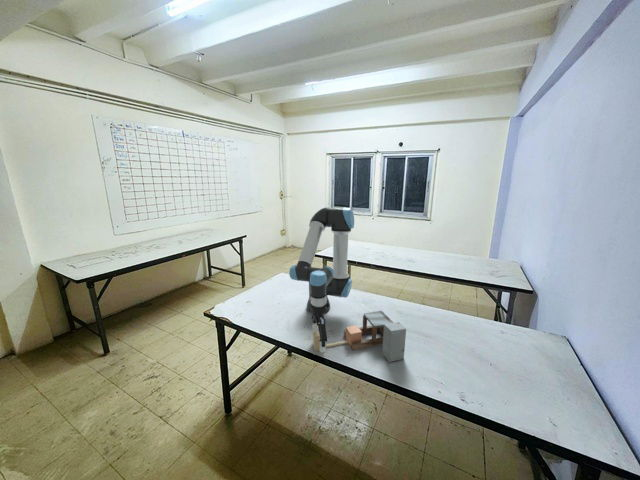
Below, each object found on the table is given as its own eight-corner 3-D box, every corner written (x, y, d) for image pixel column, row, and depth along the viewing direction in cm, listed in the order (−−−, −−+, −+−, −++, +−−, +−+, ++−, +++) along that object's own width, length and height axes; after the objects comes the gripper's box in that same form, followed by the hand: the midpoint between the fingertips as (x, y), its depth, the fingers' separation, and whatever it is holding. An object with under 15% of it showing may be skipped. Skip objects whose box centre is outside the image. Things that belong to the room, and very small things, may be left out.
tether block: (312, 345, 127) (312, 331, 125) (356, 336, 133) (356, 323, 131) (315, 353, 121) (315, 338, 119) (361, 343, 127) (361, 330, 125)
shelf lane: (343, 335, 134) (344, 316, 131) (380, 328, 140) (381, 310, 137) (352, 350, 123) (353, 330, 120) (392, 342, 128) (393, 322, 125)
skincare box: (388, 362, 114) (390, 332, 110) (381, 352, 121) (382, 323, 117) (405, 359, 116) (407, 329, 112) (396, 349, 123) (398, 320, 119)
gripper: (305, 292, 129) (306, 329, 134) (317, 318, 106) (318, 361, 111) (319, 291, 131) (319, 327, 136) (334, 315, 108) (334, 358, 113)
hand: (319, 342), depth 124 cm, fingers open, 13 cm apart
